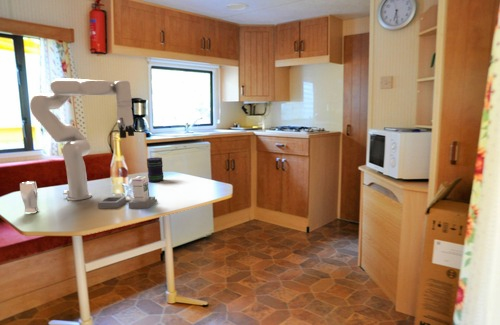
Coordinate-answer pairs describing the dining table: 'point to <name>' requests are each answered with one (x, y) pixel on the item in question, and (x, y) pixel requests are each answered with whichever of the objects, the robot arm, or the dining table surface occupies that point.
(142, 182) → the syrup box
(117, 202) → the panel
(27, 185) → the white vase
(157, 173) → the storage jar
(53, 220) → the dining table surface
